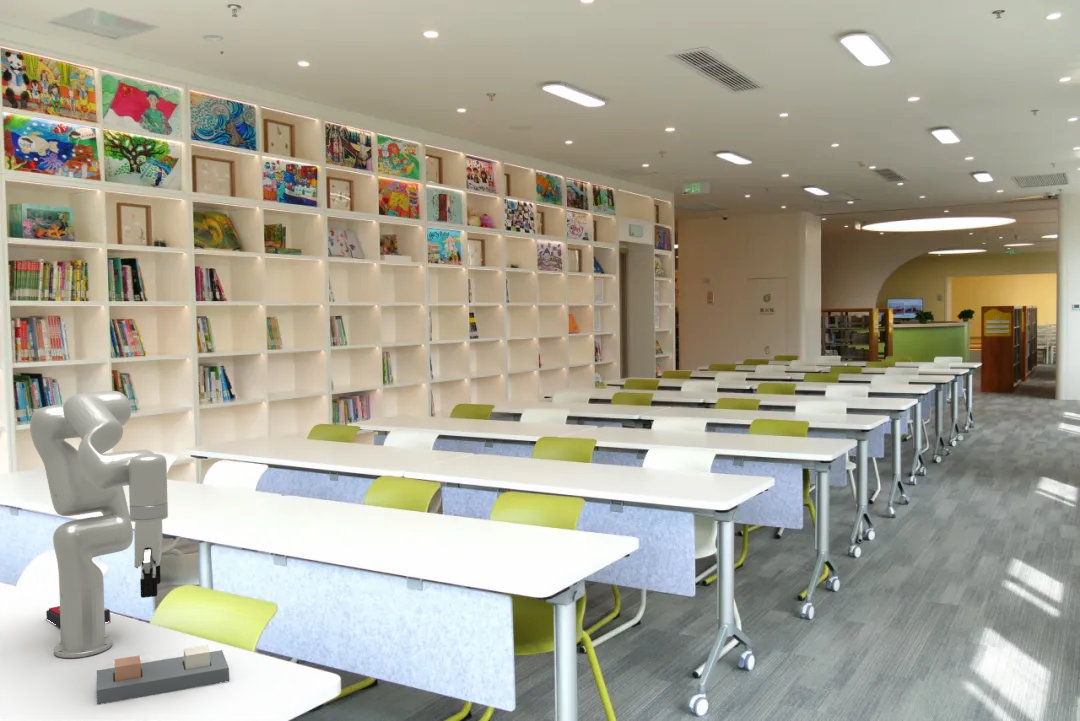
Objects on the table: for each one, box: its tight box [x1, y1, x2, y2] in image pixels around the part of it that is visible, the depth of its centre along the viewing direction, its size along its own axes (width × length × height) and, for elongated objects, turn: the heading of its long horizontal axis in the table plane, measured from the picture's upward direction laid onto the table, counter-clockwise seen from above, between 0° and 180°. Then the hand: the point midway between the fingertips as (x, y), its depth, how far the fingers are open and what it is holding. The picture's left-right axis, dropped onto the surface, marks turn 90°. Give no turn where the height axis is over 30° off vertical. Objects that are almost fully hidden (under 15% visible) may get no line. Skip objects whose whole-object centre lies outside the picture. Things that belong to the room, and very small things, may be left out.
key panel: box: [96, 649, 230, 705], centre depth 194 cm, size 12×26×3 cm, turn 116°
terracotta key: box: [113, 655, 142, 682], centre depth 191 cm, size 5×5×4 cm
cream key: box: [183, 644, 211, 670], centre depth 197 cm, size 5×5×4 cm
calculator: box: [46, 605, 111, 629], centre depth 235 cm, size 11×4×15 cm
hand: (150, 590), depth 191 cm, fingers open, 9 cm apart
